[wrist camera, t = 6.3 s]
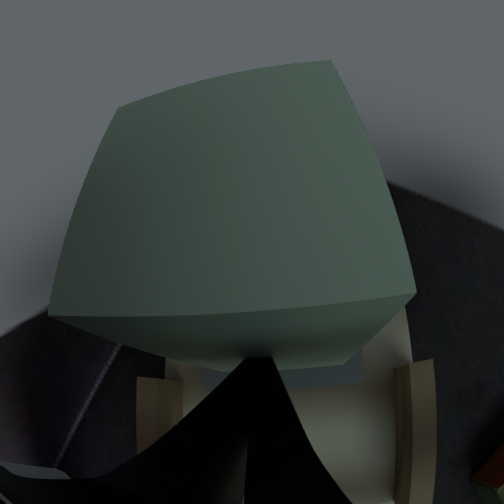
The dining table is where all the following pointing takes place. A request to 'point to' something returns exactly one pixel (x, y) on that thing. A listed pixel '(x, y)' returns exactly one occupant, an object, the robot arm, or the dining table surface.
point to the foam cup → (32, 473)
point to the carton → (491, 479)
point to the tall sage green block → (238, 229)
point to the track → (338, 419)
